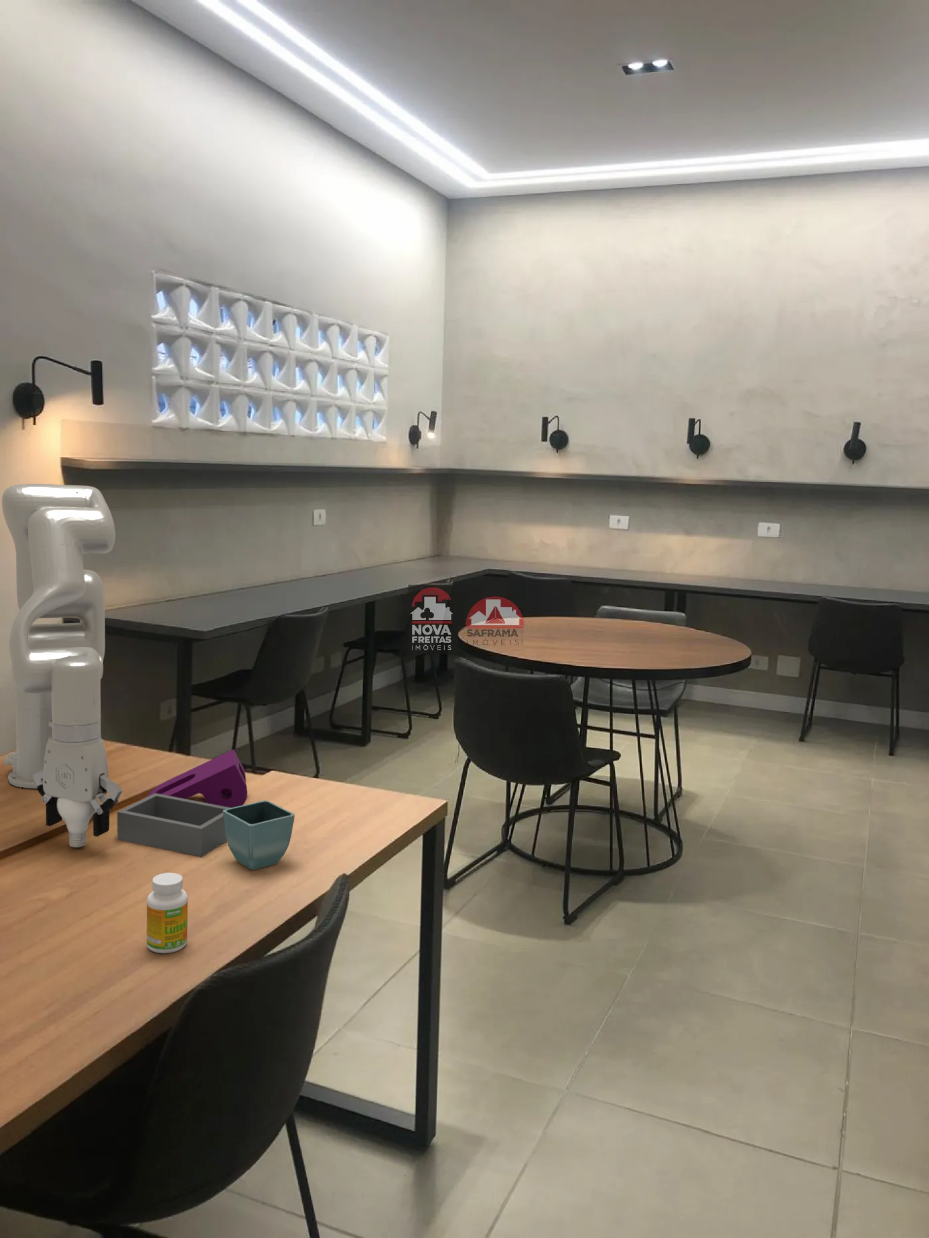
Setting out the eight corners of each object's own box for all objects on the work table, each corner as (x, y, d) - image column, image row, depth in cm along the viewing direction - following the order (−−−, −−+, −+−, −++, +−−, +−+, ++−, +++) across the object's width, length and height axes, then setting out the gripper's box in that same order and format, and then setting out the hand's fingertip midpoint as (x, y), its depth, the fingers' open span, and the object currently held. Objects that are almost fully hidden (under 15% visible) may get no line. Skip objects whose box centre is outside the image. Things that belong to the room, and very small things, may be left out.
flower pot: (265, 848, 169) (266, 798, 168) (294, 865, 163) (296, 814, 161) (220, 860, 163) (221, 809, 161) (249, 878, 157) (250, 825, 155)
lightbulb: (104, 848, 165) (104, 786, 163) (67, 858, 160) (67, 794, 158) (86, 837, 169) (86, 776, 167) (50, 846, 165) (49, 784, 163)
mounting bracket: (165, 844, 182) (254, 802, 185) (144, 807, 180) (235, 764, 183) (167, 825, 191) (252, 785, 194) (147, 789, 189) (234, 749, 192)
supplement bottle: (165, 958, 131) (165, 890, 130) (138, 946, 134) (138, 879, 132) (195, 942, 136) (196, 877, 134) (168, 931, 138) (169, 866, 137)
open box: (117, 839, 169) (117, 811, 168) (154, 819, 179) (155, 793, 178) (201, 857, 164) (201, 828, 163) (235, 835, 174) (235, 808, 173)
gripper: (17, 728, 161) (19, 827, 163) (104, 744, 155) (105, 845, 158) (50, 718, 168) (52, 812, 170) (134, 732, 162) (134, 830, 165)
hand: (77, 828), depth 164 cm, fingers open, 9 cm apart
